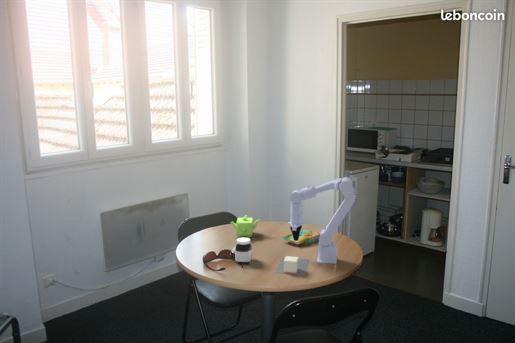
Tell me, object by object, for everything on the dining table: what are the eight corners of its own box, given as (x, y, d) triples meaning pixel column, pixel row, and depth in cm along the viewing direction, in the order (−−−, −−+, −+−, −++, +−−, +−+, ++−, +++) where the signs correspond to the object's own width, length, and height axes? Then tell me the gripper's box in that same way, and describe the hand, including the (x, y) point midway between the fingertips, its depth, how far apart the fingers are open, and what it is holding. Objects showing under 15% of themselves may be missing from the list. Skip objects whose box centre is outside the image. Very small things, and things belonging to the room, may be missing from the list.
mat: (309, 260, 224) (309, 259, 224) (304, 276, 204) (304, 275, 204) (282, 258, 227) (282, 257, 227) (275, 274, 208) (275, 273, 207)
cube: (296, 261, 205) (296, 273, 206) (298, 257, 211) (298, 268, 212) (283, 260, 206) (283, 272, 208) (285, 256, 212) (285, 267, 213)
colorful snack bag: (321, 232, 252) (296, 240, 239) (321, 240, 253) (296, 249, 240) (306, 227, 261) (282, 235, 248) (306, 235, 262) (282, 243, 249)
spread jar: (248, 266, 217) (247, 243, 215) (226, 264, 220) (226, 241, 218) (255, 257, 229) (254, 235, 226) (234, 255, 232) (233, 234, 229)
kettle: (246, 230, 272) (245, 212, 270) (262, 235, 262) (262, 217, 260) (227, 235, 262) (227, 217, 260) (244, 241, 252) (243, 222, 250)
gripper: (290, 210, 230) (290, 234, 232) (286, 218, 216) (286, 244, 218) (303, 210, 228) (303, 235, 231) (300, 218, 214) (300, 245, 217)
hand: (296, 240), depth 224 cm, fingers closed
